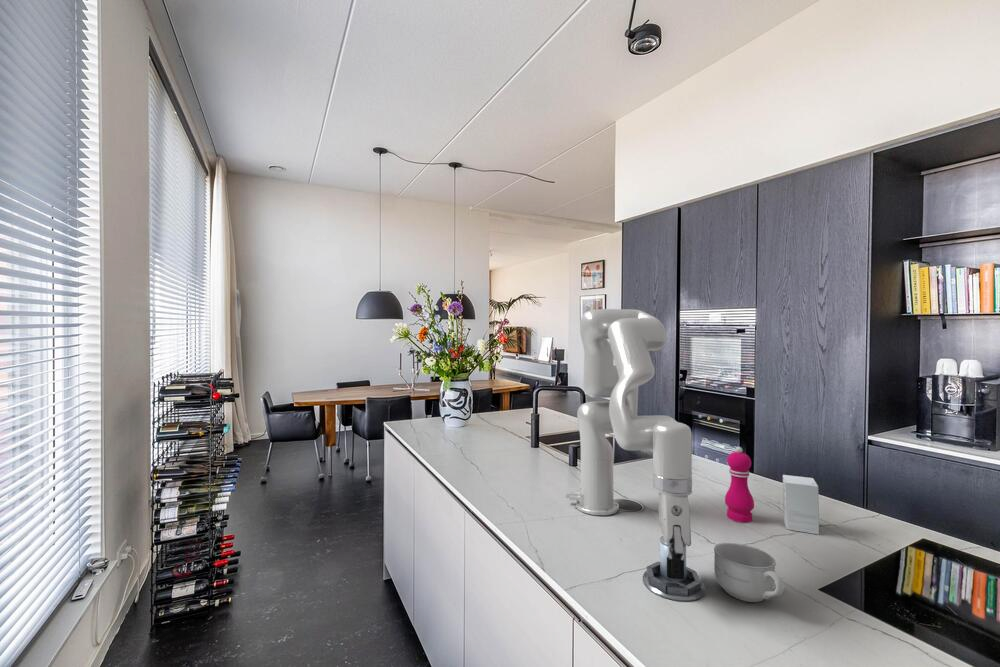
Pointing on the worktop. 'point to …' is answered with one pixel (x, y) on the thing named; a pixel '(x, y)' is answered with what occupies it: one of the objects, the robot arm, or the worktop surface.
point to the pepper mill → (739, 488)
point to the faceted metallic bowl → (673, 584)
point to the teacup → (746, 572)
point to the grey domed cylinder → (665, 554)
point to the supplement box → (801, 504)
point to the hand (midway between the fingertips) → (672, 569)
